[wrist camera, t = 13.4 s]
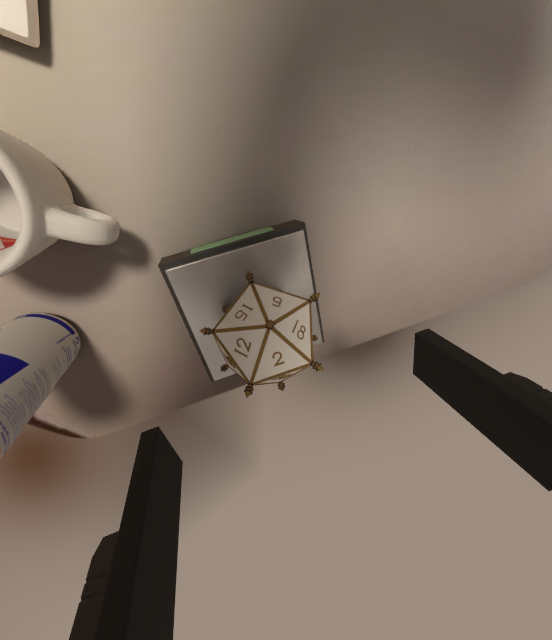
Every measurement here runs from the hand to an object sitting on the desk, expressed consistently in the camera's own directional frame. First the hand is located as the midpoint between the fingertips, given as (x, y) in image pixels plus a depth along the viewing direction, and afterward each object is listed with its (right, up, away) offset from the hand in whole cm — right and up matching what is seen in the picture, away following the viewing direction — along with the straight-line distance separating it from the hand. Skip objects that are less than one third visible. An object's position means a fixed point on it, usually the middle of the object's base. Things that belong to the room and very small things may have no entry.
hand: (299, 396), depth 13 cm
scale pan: (-3, +5, +11) cm, 12 cm away
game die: (-3, +4, +10) cm, 12 cm away
